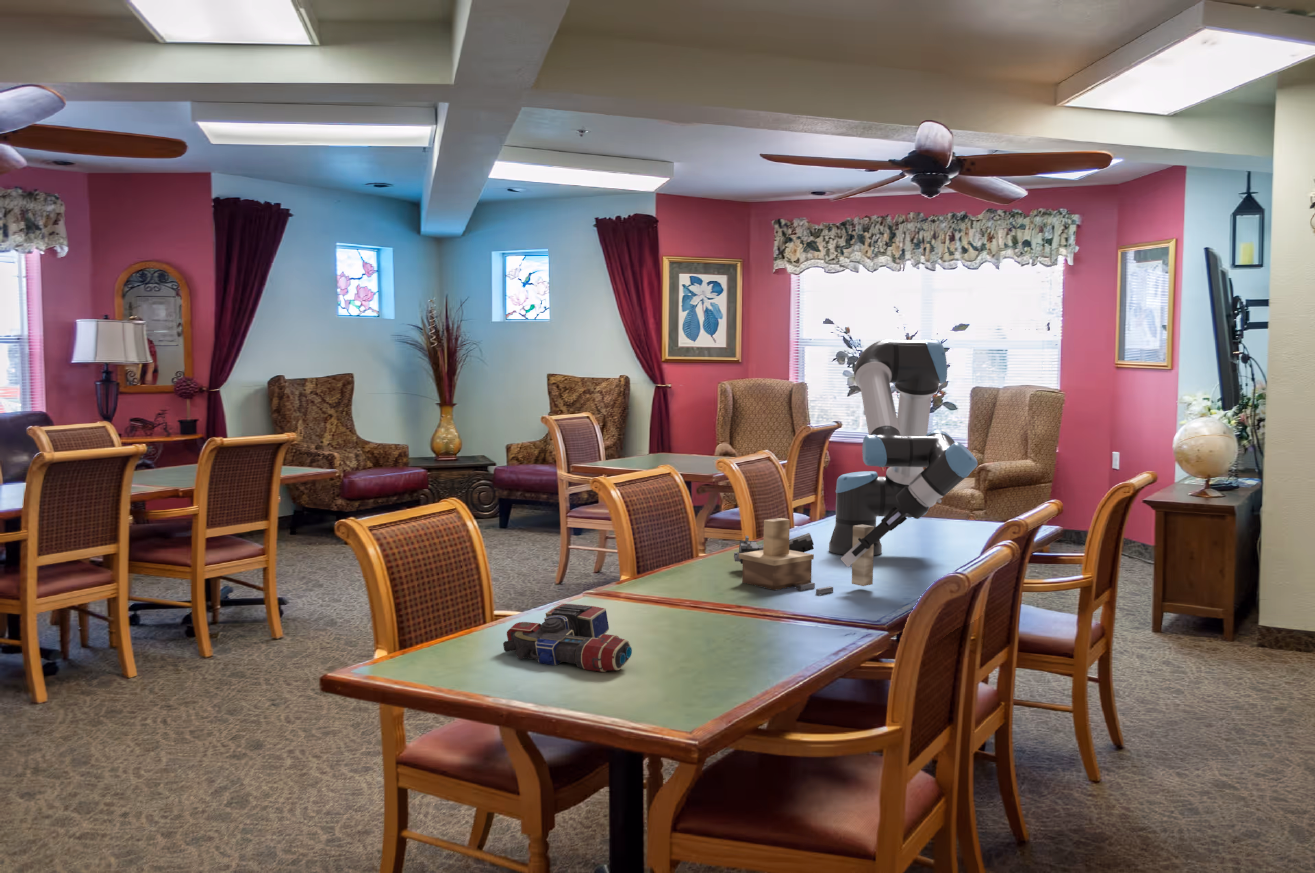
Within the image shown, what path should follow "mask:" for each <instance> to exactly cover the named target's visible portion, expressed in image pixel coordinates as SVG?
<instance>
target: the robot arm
mask: <svg viewBox="0 0 1315 873" xmlns="http://www.w3.org/2000/svg"><path fill="white" fill-rule="evenodd" d="M947 365H948V362H947V355H946V350H945V348H944V346H943V343H941V341H939V340H930V339H929V340H928V339H881V340H878V341H876V342H874V343H872V344H870V345H869V346H867V348H865V349H864V350H863V351H862V352H861V354H860V355H859V357H858V358H857V361H855V365H854V372H853V373H854V381H855V384H856V385H857V387H858V388H859V389H860V392H861V397H862V398H861V399H862V405H863V410H864V415H865V421H866V426H867V428H866V429H867V432H868V435H865V436H864V437H863V439H862V440H863V441H862V450H861V451H862V461H863V463H864V464H865V466H867V467H868V466H869V467H879V468H887V469H886V473H885V476H879V474H878V472H877V471H873V470H871V471H869V470H868V471H866V470H865V471H855V472H848V473H844V474H841V475H840V476H838V478H837V479H836V486H835V488H836V489H835V494H836V495H835V496H836V497H835V498H836V499H835V525H834V528H833V531H832V534H831V537H830V540H829V543H828V551H829V552H830V553H833V554H837V555H843V556H841V557H840V560H841V561H842V562H843V563H844V564H845V566H846V567H848V568H849V567H851V566H852V563H853V562H855V561H856V560H857V559H858V558H859V557H860V556H861V555H862V554H864V553H865V552H866V551H867V550H868V549H869V548H870V547H871V546H872V545H873V544H874V547H873V556H878V555H880V554H882V553H883V552H882V550H883V549H882V547H883V546H882V543H881V538H883V537H884V536H885V535H886V534H887V533H888V532H890V531H891V532H892V531H893V530H894V529H896V528H897V527H898V526H900V525H901V524H904V523H905V521H906V520H908V519H909V518H911V519H912V518H913V519H916V520H919V519H920V518H921V517H924V516H925V515H927V513H928V511H929V509H930V508H932V507H934V505H936V504H937V503H938V504H941V503H942V501H943V500H942V498H944V497H945V496H946V495H948V494H949V493H950V491H952V490H953V489H955V487H957V485H959V484H960V483H961V482H962V481H964V480H965V479H966V478H968V477H969V475H970V474H971V473H972V472H973V471H974V470H975V469H976V468H977V467H978V460H977V458H976V457H975V456H974V454H973V453H972V451H970V450H969V449H968V448H967V447H966V446H965V445H964V444H962V443H961V442H958V441H957V442H955V440H954V439H953V438H952V437H951V436H950V434H948V432H946V431H943V430H938V429H937V430H932V431H929V422H930V412H931V406H932V404H931V403H932V398H933V396H934V395H935V394H936V393H938V392H939V386H940V385H943V384H945V383H946V382H947V379H948V366H947ZM891 383H893V384H894V388H895V390H896V391H898V392H899V397H898V407H897V412H896V407H895V402H894V399H893V398H894V397H893V393H892V388H891ZM928 431H929V432H928ZM924 468H925V469H924ZM877 517H882V519H881V520H880V523H879V524H877ZM856 525H869V526H874V529H873V530H872V531H871V532H870V533H869V534H868V535H866V536H865V537H864V538H862V539H861V538H859V539H858V540H859V542H858V543H857V544H856V545H855V546H854V547H853V526H856Z"/></svg>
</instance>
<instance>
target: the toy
mask: <svg viewBox="0 0 1315 873" xmlns="http://www.w3.org/2000/svg"><path fill="white" fill-rule="evenodd" d="M749 537H750V536H749V535H745V538H744V540H739V543H738V544H739V547H738V548H739V549H738V551H737V552H736V551H734V552H733V560H734V562H740V564H741V565H743V559H739V553H746V552H753V551H759V550H763V547H764V543H763V544H757V541H756V540H749ZM814 548H815V547H814V541H813V538H812V535H811V533H810V532H807V533H804V534H801V535H799V536H796V537H793V538H789V550H793V551H798V552H803V553H808V552H809V551H812V550H814Z"/></svg>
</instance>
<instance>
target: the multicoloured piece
mask: <svg viewBox="0 0 1315 873" xmlns="http://www.w3.org/2000/svg"><path fill="white" fill-rule="evenodd" d="M543 620H544V621H543V622H542V623H539V622H529V621H522V622H520V621H519V622H516V623H514V624H513V625H512V626H511V627H510V628H509V629H508V630H507V631H506V637H507V640H506V641H505V640H504V642H502V645H503V649H504V650H503V651H504V652H511V651H512V652H513V651H515V656H516V658H517V659H519V660H523V659H524V658H525V659H530V660H536V661H538V663H539V664H544V665H551V666H557V665H559V664H561V663H565V662H566V663H568V664H576V667H577V668H579V669H583V670H584V671H585V670H586V671H593V672H600V673H606V672H608V671H609V672H610V671H619V670H621V669H622V668H623V666H625V665H626V663H627V662H628V661H629V660H630V658H631V656H632V653H633V648H632V647H631V644H630V642H629V641H628V640H627V639H624V638H620V637H619V635H616V634H607V632H608V631H609V630H610V626H609V625H610V624H609V620H608V613H607V608H605V607H601V606H600V607H599V606H594V605H585V604H574V603H561V604H558V605H557V606H554V607H553V608H551V609H550V610H548V611H547V612H545V617H544V618H543Z"/></svg>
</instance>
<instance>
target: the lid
mask: <svg viewBox="0 0 1315 873" xmlns="http://www.w3.org/2000/svg"><path fill="white" fill-rule="evenodd" d="M790 521H791V520H790V519H788V518H784V517H783V518H782V517H780V518H779V517H777V518H771V519H764V520H763V544H764V547H763V550H759V551H753V552H746V553H739V559H744V560H749V561H754V562H758V563H763V564H768V565H773V566H776V565H782V564H788V563H794V562H800V561H806V560H814V558H815V557H814V556H815V555H814V554H813V553H808V552H804V553H803V552H798V551H793V550H789V540H790V530H791V529H790V526H791V522H790Z"/></svg>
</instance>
